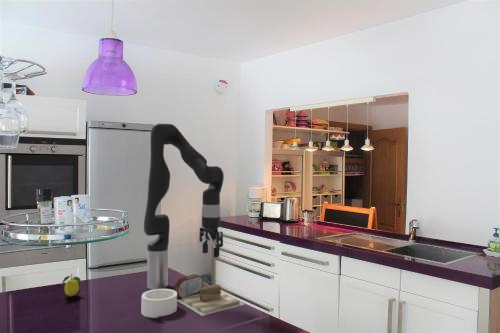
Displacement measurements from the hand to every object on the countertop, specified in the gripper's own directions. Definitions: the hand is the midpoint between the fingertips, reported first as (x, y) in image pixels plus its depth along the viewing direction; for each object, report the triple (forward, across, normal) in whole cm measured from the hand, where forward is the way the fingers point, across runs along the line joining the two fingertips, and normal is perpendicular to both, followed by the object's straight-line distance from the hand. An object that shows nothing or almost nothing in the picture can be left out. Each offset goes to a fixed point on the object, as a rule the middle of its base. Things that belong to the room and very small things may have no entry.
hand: (210, 255), depth 160 cm
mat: (+20, 0, 0) cm, 20 cm away
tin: (+20, -14, -2) cm, 25 cm away
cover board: (+19, 0, 0) cm, 19 cm away
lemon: (+20, -42, -43) cm, 63 cm away
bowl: (+20, -5, -20) cm, 29 cm away
